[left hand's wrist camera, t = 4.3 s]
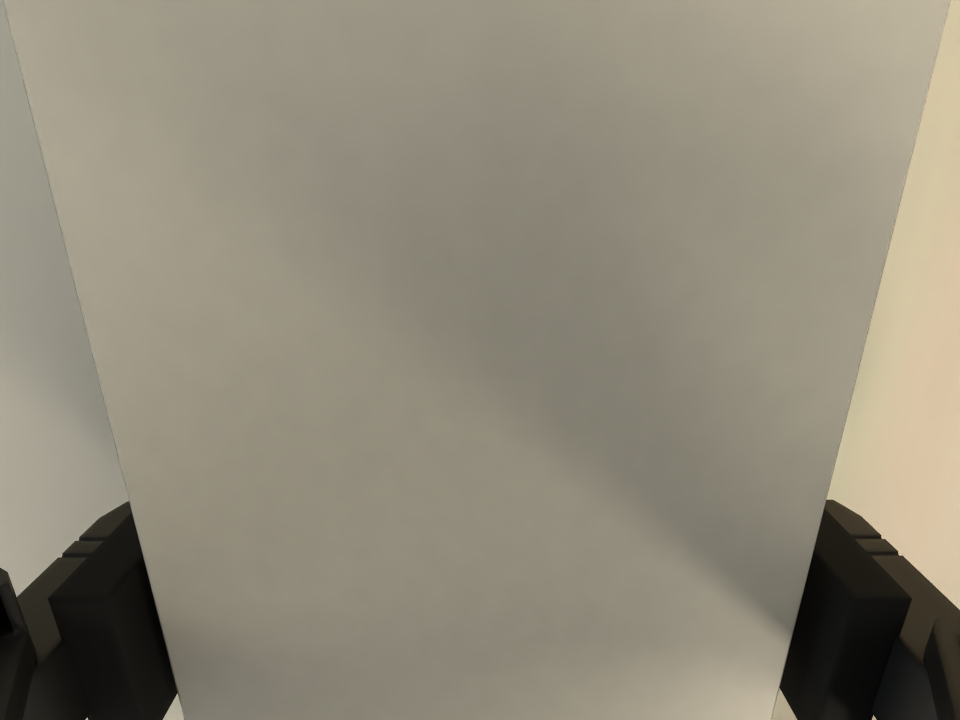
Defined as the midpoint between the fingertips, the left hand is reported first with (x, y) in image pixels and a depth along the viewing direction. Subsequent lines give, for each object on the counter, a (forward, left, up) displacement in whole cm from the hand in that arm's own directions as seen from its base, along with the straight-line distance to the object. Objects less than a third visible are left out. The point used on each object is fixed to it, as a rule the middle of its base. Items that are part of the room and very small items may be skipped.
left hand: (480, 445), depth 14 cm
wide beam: (+23, -17, -1) cm, 29 cm away
